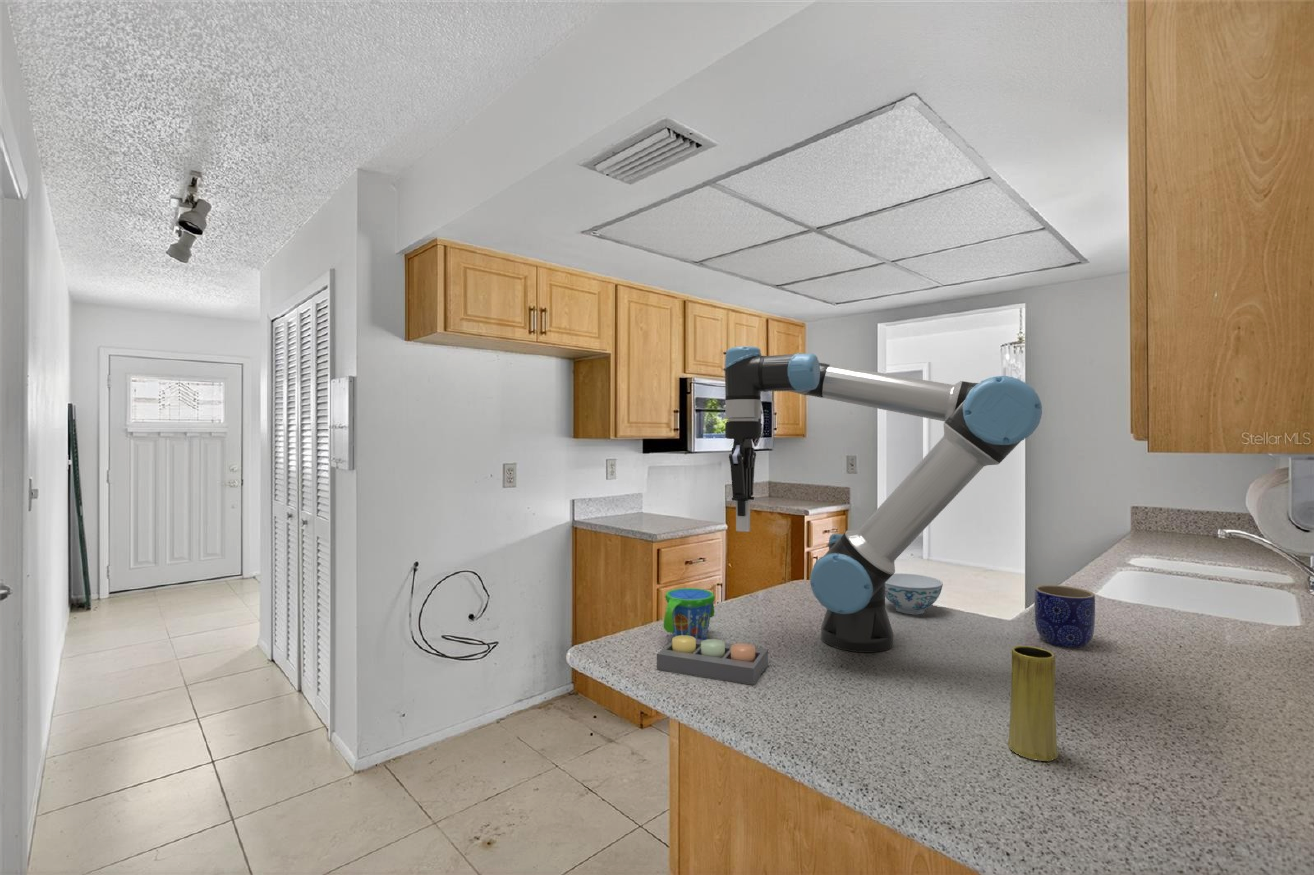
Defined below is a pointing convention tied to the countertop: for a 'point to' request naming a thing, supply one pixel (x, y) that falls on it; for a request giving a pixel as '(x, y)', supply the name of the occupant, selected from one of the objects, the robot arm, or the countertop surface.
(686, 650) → the button mustard
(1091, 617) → the planter
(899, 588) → the chinaware
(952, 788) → the countertop surface
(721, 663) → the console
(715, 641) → the button sage
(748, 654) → the button terracotta
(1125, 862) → the countertop surface
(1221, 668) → the countertop surface
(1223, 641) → the countertop surface
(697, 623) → the snack cup
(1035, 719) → the vase
